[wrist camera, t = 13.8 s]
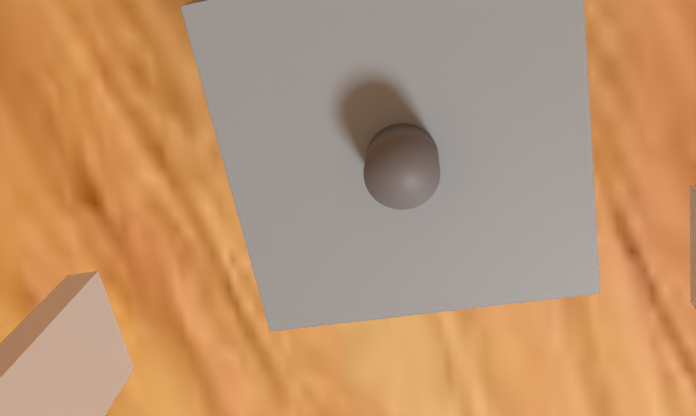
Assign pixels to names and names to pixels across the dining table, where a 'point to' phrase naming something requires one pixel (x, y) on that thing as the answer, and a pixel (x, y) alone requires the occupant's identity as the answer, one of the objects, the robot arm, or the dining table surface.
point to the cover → (403, 151)
